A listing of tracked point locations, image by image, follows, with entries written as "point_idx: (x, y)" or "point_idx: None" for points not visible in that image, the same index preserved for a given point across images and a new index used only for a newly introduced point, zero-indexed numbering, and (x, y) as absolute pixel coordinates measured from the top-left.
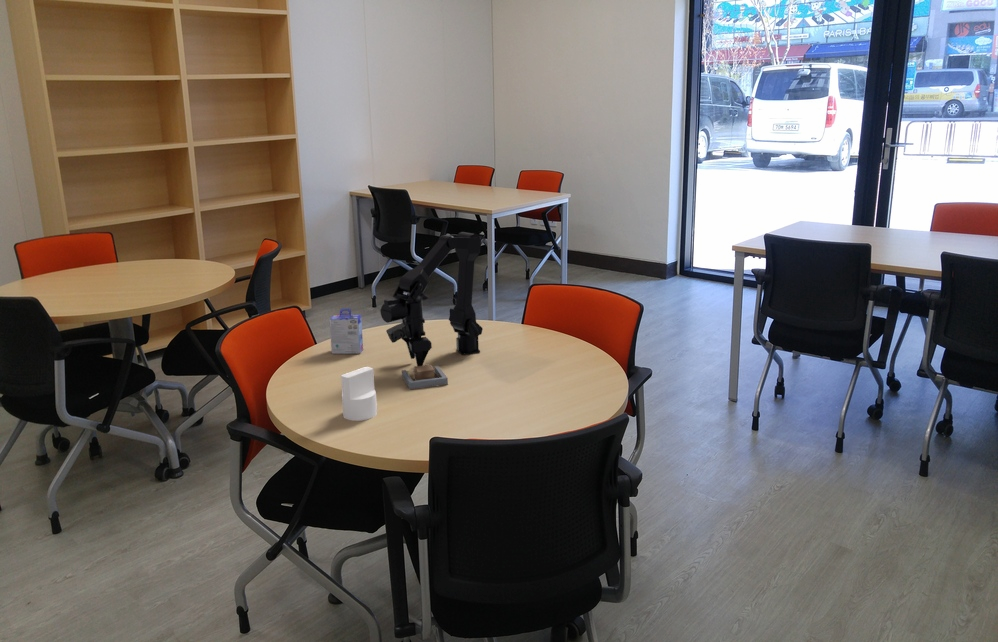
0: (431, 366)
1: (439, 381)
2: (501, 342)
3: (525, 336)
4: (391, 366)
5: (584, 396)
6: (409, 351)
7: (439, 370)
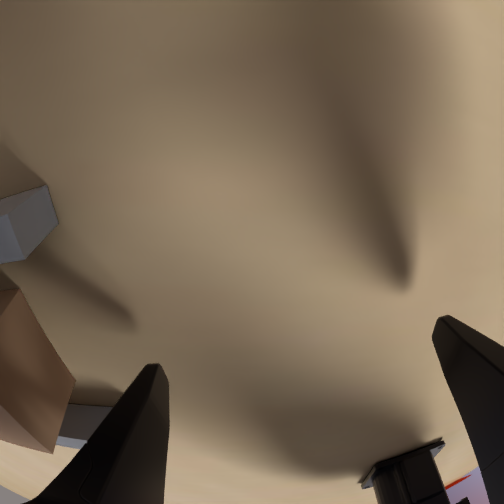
0: (19, 445)
1: None
2: None
3: None
4: (418, 91)
5: None
6: (483, 361)
7: (69, 442)
